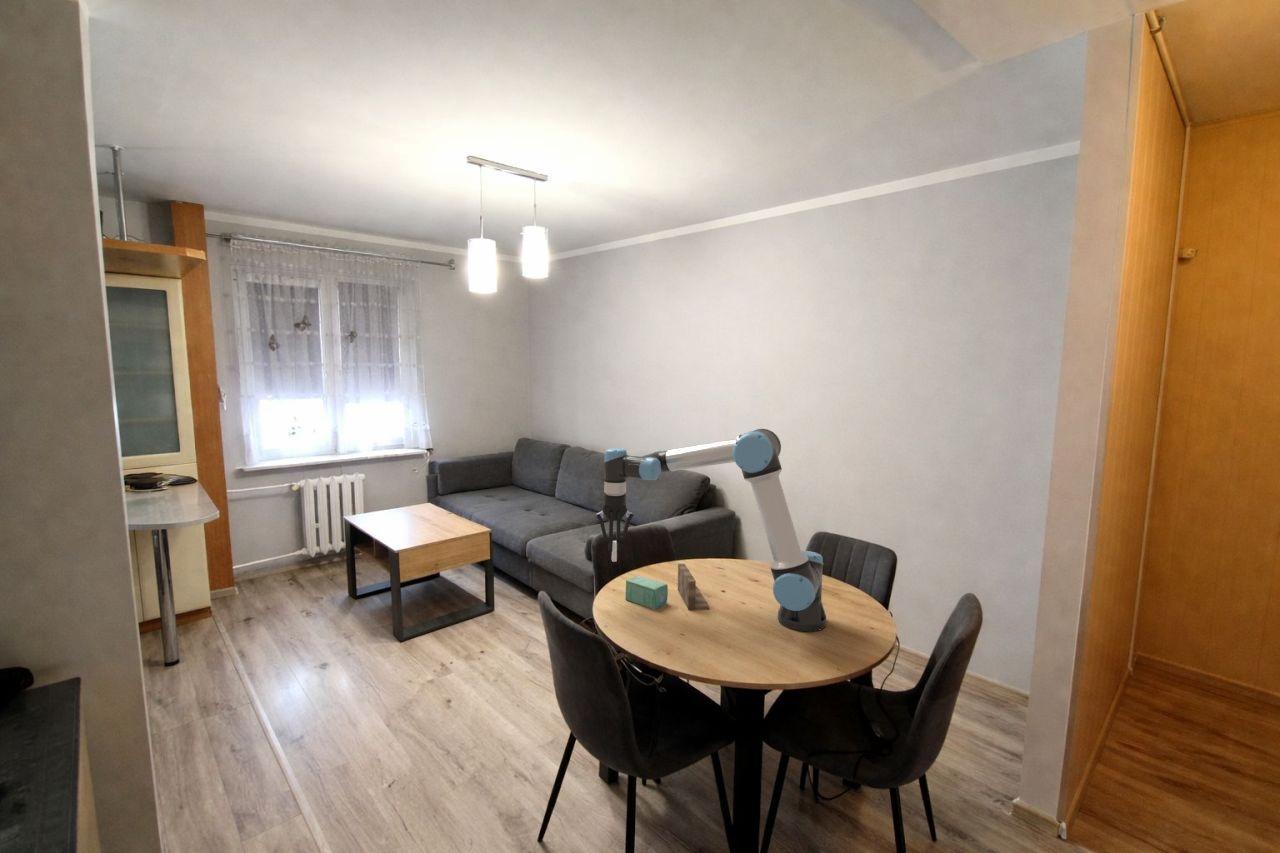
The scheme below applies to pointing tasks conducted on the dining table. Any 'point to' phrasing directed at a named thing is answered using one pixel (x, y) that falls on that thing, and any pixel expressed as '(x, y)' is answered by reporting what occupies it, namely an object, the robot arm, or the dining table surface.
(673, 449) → the robot arm
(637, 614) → the dining table surface
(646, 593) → the box
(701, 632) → the dining table surface
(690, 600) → the walnut angle bracket
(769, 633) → the dining table surface
